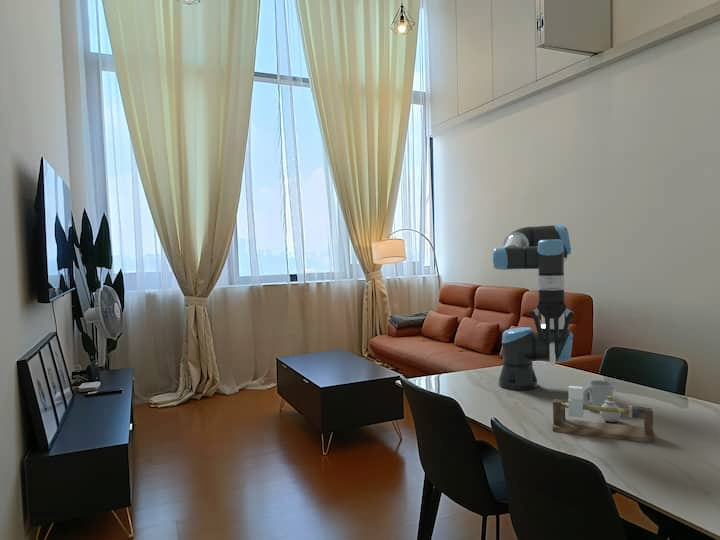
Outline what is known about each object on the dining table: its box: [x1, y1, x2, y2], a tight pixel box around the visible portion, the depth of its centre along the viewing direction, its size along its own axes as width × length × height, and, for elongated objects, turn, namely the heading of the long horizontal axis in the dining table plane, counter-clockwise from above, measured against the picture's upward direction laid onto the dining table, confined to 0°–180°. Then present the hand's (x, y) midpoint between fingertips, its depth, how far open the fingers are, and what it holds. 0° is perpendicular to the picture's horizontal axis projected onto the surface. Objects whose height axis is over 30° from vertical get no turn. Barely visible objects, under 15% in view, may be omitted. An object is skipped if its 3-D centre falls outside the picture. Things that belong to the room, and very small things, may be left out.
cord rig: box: [552, 398, 655, 444], centre depth 152 cm, size 27×9×9 cm, turn 64°
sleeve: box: [567, 385, 584, 418], centre depth 155 cm, size 4×5×8 cm
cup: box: [583, 379, 614, 406], centre depth 172 cm, size 7×10×9 cm
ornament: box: [598, 391, 622, 423], centre depth 160 cm, size 6×7×10 cm
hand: (552, 363), depth 157 cm, fingers closed
